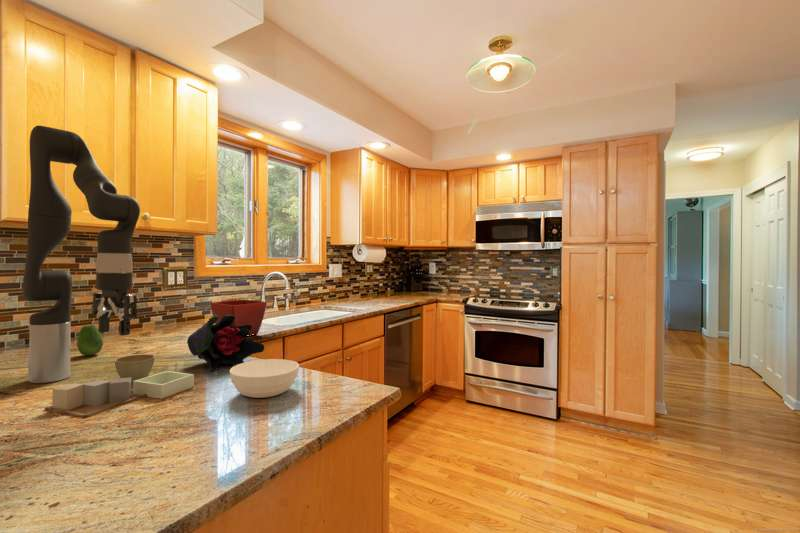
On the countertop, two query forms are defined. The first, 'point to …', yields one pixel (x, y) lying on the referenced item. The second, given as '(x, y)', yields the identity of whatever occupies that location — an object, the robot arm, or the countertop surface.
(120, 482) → the countertop surface
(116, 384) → the stone basalt
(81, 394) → the stone sand
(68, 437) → the countertop surface
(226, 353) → the decorative plant
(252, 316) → the plant pot
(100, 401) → the stone slate
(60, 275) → the robot arm
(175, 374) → the green bin
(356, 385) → the countertop surface
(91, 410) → the walnut tray
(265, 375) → the bowl
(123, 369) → the flower pot
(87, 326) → the avocado
